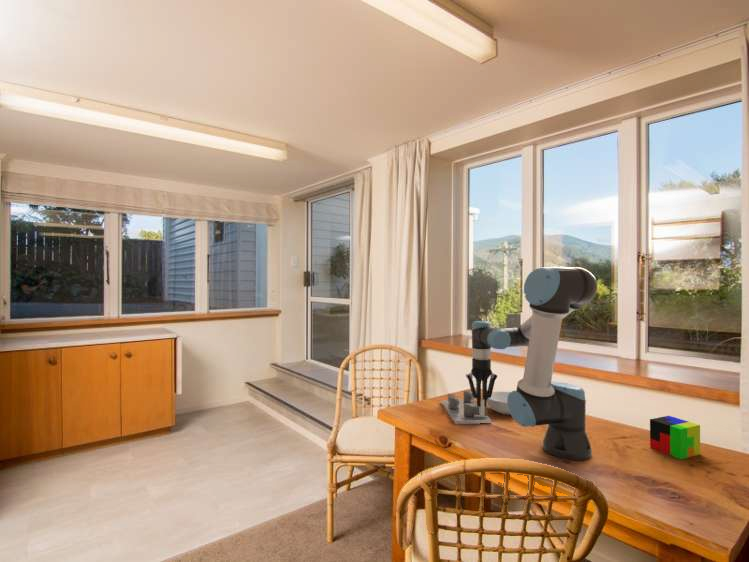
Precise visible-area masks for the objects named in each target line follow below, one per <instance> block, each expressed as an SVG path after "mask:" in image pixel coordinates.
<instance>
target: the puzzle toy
mask: <svg viewBox="0 0 749 562" xmlns="http://www.w3.org/2000/svg"><path fill="white" fill-rule="evenodd" d="M650 447H651V449H653V450H655V449H656V451H658V452H661V453H663V452H664V454H665V455H666V454H667V455H668V454H669V456H671V455H672V456H671V457H674V458H676V459H680V460H685V459H688V458H691V456H692V457H695V455H696V456H699V455H701V425H700V424H698V423H694V422H691V421H687V420H684V419H681V418H677V417H675V416H672V415H665V416H661V417H660V416H659V417H655V418H650V419H649V448H650Z"/></svg>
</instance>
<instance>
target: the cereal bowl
mask: <svg viewBox="0 0 749 562" xmlns="http://www.w3.org/2000/svg"><path fill="white" fill-rule="evenodd" d="M511 392H512V391H505V390H502V391H500V390H499V391H498V390H497V391H492V395H491V398H488V399H487V406H488V407H489V408H490V409H491V410H493V411H495V412H497V413H498V414H500V413H501V415H505V414H506V416H509V415H511V413H510V411H509V408H508V403H507V399H508V395H509V393H511Z"/></svg>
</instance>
